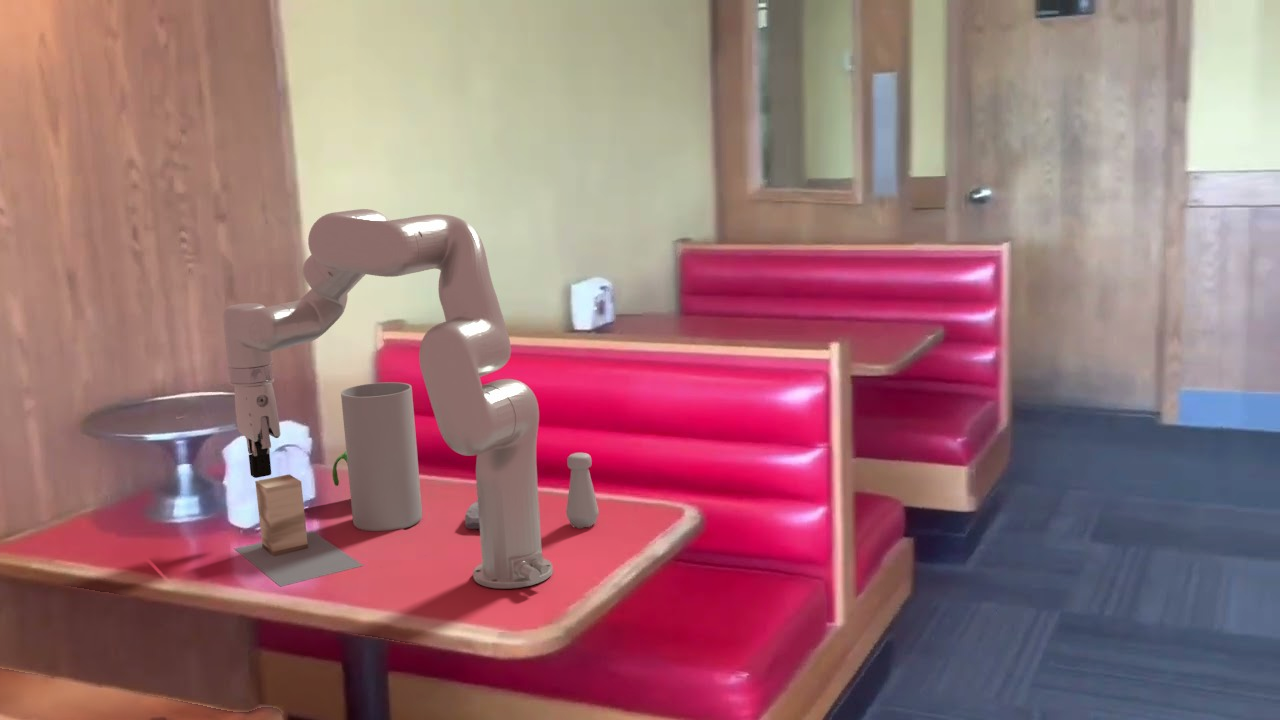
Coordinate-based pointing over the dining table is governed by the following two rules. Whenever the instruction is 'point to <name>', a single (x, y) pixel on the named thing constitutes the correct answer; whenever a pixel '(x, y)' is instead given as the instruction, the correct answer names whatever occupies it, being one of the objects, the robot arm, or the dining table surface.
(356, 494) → the cylinder vase
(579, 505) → the salt shaker
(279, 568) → the slate mat
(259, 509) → the birch block
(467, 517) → the stone block
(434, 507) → the dining table surface
